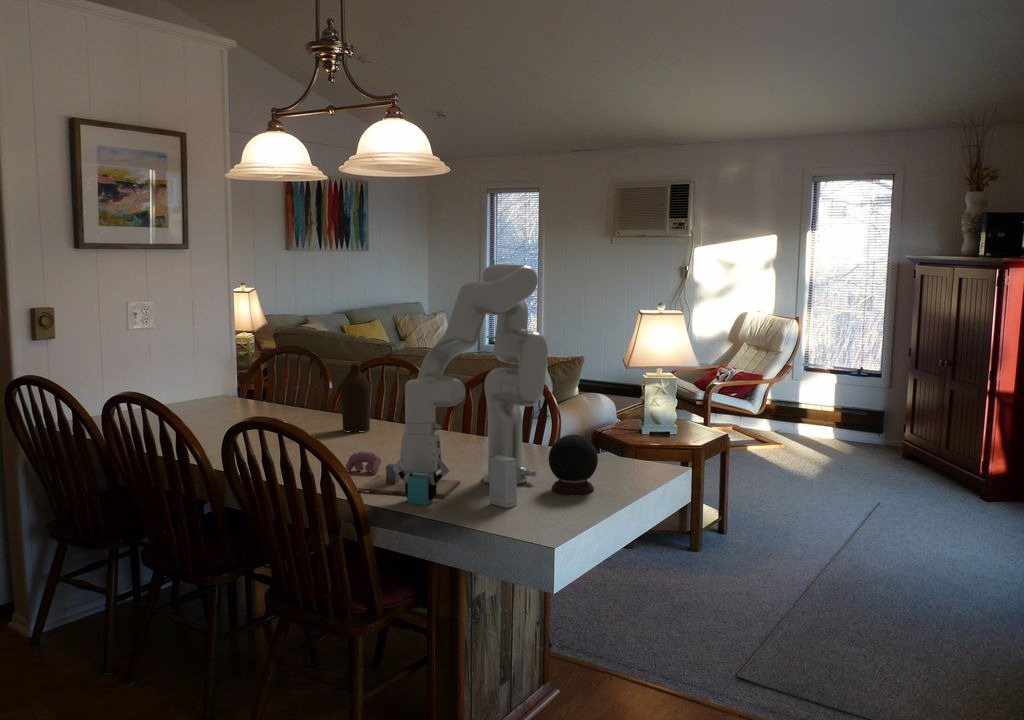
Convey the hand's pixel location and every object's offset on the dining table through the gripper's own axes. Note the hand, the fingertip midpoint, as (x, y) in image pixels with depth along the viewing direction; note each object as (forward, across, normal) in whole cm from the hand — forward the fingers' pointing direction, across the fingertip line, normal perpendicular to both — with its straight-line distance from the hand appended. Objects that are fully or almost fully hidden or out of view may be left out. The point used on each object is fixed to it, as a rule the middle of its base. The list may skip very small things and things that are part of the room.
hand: (420, 497), depth 215 cm
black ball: (+1, -36, -20) cm, 41 cm away
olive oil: (+1, +52, -79) cm, 95 cm away
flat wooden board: (+1, +7, -11) cm, 13 cm away
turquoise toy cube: (+1, 0, 0) cm, 1 cm away
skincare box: (+1, -21, -2) cm, 21 cm away
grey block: (+1, +12, -11) cm, 16 cm away
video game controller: (+1, +26, -24) cm, 35 cm away
